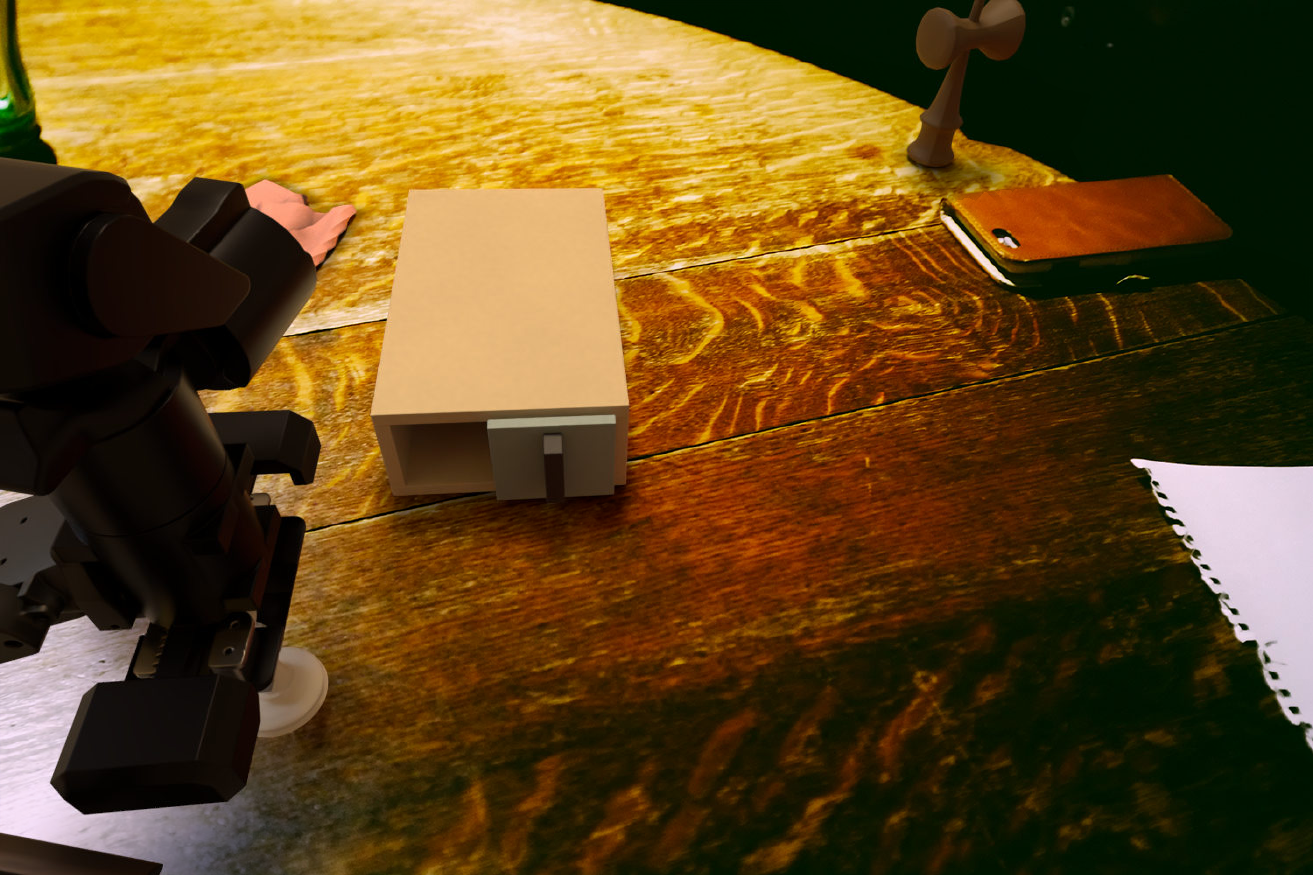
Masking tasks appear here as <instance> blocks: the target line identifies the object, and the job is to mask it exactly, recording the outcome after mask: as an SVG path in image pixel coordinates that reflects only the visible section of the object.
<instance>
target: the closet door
mask: <svg viewBox="0 0 1313 875" xmlns="http://www.w3.org/2000/svg"><path fill="white" fill-rule="evenodd" d="M487 431H488V438H489V445H490V453H491V460H492V467H493V474H494V481H495V488H496V491H495V495H496V500H497V501H511V500H512V501H513V500H532V499H545V500H546V504H547V505H552V504H553V505H554V504H555V505H556V504H557V505H558V504H565V503H566V498H570V497H572V498H573V497H589V496H590V497H593V496H610V495H611V496H613V495H615V485H614V479H615V444H616V418H615V415H593V416H567V417H542V418H517V419H491V420H488V421H487Z"/></svg>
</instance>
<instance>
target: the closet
mask: <svg viewBox="0 0 1313 875" xmlns="http://www.w3.org/2000/svg"><path fill="white" fill-rule="evenodd" d="M406 201H407V202H406V207H405V211H404V212H405V213H404V218H403V224H402V230H401V236H400V242H399V247H398V253H397V257H396V258H397V259H396V265H395V270H394V276H393V281H392V288H391V294H390V299H389V305H388V310H387V317H386V322H385V329H384V332H383V333H384V334H383V340H382V346H381V352H380V355H379V356H380V357H379V362H378V368H377V375H376V380H375V386H374V391H373V398H372V403H371V409H370V418H371V423H372V426H373V430H374V433H375V436H376V440H377V443H378V447H379V451H380V454H381V457H382V461H383V464H384V468H385V471H386V475H387V478H388V483H389V485H390V486H389V487H390V489H391V493H392V495H393V497H401V496H402V497H403V496H422V495H423V496H425V495H443V494H445V495H446V494H461V493H462V494H464V493H466V494H467V493H481V492H482V493H483V492H486V493H487V492H496V488H495V481H494V474H493V467H492V460H491V453H490V445H489V438H488V431H487V421H488V420H491V419H517V418H542V417H567V416H593V415H615V418H616V444H615V479H614V486H625V485H627V468H628V467H627V466H628V445H629V444H628V443H629V424H630V423H629V422H630V420H629V419H630V400H629V391H628V383H627V376H626V367H625V365H626V364H625V359H624V349H623V341H622V333H621V324H620V317H619V309H618V300H617V294H616V284H615V276H614V268H613V261H612V252H611V251H612V250H611V244H610V236H609V235H610V234H609V227H608V219H607V218H608V217H607V209H606V203H605V202H606V201H605V193H604V188H603V187H598V188H597V187H586V188H585V187H581V188H580V187H575V188H574V187H573V188H571V187H570V188H561V187H560V188H559V187H558V188H557V187H555V188H451V189H450V188H448V189H447V188H443V189H442V188H441V189H439V188H438V189H437V188H436V189H435V188H434V189H433V188H431V189H430V188H429V189H409V190H408V196H407V200H406Z"/></svg>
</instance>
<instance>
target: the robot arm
mask: <svg viewBox="0 0 1313 875" xmlns="http://www.w3.org/2000/svg"><path fill="white" fill-rule="evenodd" d="M245 189H246V188H245V186H244V184H243V183H241V182H239V181H238V182H237V181H229V180H222V179H215V178H207V177H201V176H200V177H199V176H194V177H193V178H192V179H191V180H189V182H187V184H185V185H184V186H183V187H182V188H181V189H180V191H179V192H178V193H177V195H176V196H175V199H174V200H173V201H172V203H171V205H170V206H169V207H168V208H167V209H166V210H165V211H164V212H163V213H162V214H161V215H160V216H159V217H157V219H156V220H154V221H152V219H151V218H150V215H149V214H148V212H147V211H146V209H145V207H144V205H143V203H142V202H141V200H140V198H139V197H138V196H137V195H136V194H134V192H132V188H131V185H130V184H129V182H128V181H127V179H125V178H124V177H122V176H120V175H117V174H115V173H112V172H110V171H106V170H105V171H104V170H98V169H91V168H83V167H76V166H69V165H68V166H67V165H60V164H55V163H53V164H52V163H46V162H39V161H31V160H23V159H16V158H10V157H2V156H0V491H4V492H11V493H16V494H22V495H29V496H27V497H24V498H21V499H18V500H13V501H11V502H8V503H6V504H4V505H2V506H0V665H2V664H6V663H9V662H13V661H17V660H20V659H24V658H27V657H31V656H34V655H37V654H39V653H40V652H41V649H42V648H43V645H44V643H45V640H46V638H47V635H48V633H49V631H50V629H51V627H54V626H57V625H60V624H64V623H67V622H70V621H74V620H79V619H81V618H84V617H86V618H88V619H89V620H90V621H91V623H92V624H93V625H94V626H95V627H96V629H97V630H98V631H99V632H109V631H125V630H131V629H133V628H134V625H135V623H136V620H137V619H147V620H148V621H149V622H148V625H147V628H146V632H145V634H140V635H139V636H138V639H137V642H136V646H135V648H134V650H133V651H134V652H133V654H132V658H131V660H130V663H129V665H128V668H127V671H126V673H125V676H124V680H111V681H100V682H99V681H97V682H96V683H95V684H94V685H92V687H90V688H89V689H88V690H87V691H86V692H85V693H83V694H82V696H81V699H80V702H79V704H78V707H77V710H76V712H75V715H74V717H73V720H72V723H71V725H70V728H69V731H68V734H67V736H66V739H65V742H64V744H63V747H62V749H61V752H60V754H59V757H58V760H57V763H56V765H55V768H54V770H53V774H52V775H51V779H50V780H49V784H50V785H51V786H52V787H53V789H54V790H55V791H56V792H57V794H58V795H59V796H60V797H61V799H62V800H63V801H65V802H66V803H67V804H69V805H70V807H71V806H72V807H73V808H74V809H75V810H77V811H78V812H79V813H81V814H82V815H83V816H88V815H98V814H99V815H100V814H109V813H110V814H111V813H120V812H122V813H123V812H133V811H144V810H145V811H146V810H156V809H165V808H177V807H178V808H179V807H189V806H199V805H210V804H222V803H223V804H224V803H229V802H230V801H231V800H232V799H233V798H234V797H235V796H236V795H238V794H239V793H240V792H242V790H243V789H245V788H246V787H247V785H248V780H249V776H250V772H251V767H252V762H253V758H254V755H255V754H254V753H255V748H256V744H257V740H258V737H257V736H258V731H259V727H260V722H261V718H260V702H259V694H258V693H267V692H271V691H272V689H273V685H274V680H275V674H276V669H277V664H278V658H279V653H280V652H281V648H282V647H283V644H284V643H283V642H284V638H285V632H286V627H287V623H288V618H289V614H290V609H291V608H290V607H291V604H292V599H293V594H294V589H295V584H296V579H297V576H298V575H297V574H298V569H299V564H300V559H301V555H302V550H303V546H304V540H305V536H306V531H307V523H306V520H305V519H304V518H302V517H301V516H298V515H287V516H285V515H284V516H282V515H281V513H280V511H279V509H278V507H277V505H276V504H271V503H272V497H271V495H270V494H269V493H268V492H254V489H255V484H256V482H257V478H258V476H266V475H285V474H286V475H289V476H290V479H291V481H292V484H293V486H294V487H295V486H297V487H298V486H309V485H311V484H312V485H313V484H314V481H315V477H316V473H317V468H318V463H319V460H320V454H321V449H322V443H321V440H320V438H319V434H318V431H317V429H316V426H315V424H314V421H313V420H311V419H309V418H307V417H305V416H303V415H302V414H300V413H297V412H295V411H293V410H291V409H273V410H271V409H270V410H247V411H245V410H244V411H243V410H242V411H219V412H216V411H215V412H208V410H207V408H206V407H205V404H204V403H203V400H202V398H201V397H200V395H199V393H198V392H200V391H201V392H202V391H207V390H208V391H213V392H214V391H215V392H219V391H221V392H225V391H233V390H236V389H240V388H241V389H244V388H245V389H246V388H247V387H248V385H249V384H250V383H251V382H252V380H253V379H254V377H255V376H256V374H257V373H258V372H259V371H260V369H261V368H262V366H263V365H264V363H265V362H266V360H267V359H268V358H269V356H270V355H271V353H272V352H273V350H274V349H275V348H276V346H277V345H278V344H279V342H280V341H281V339H282V338H283V337H284V335H285V334H286V332H287V331H288V330H289V328H290V327H291V325H292V324H293V323H294V321H295V320H296V319H297V317H298V316H299V315H300V313H301V311H302V310H303V309H304V308H305V306H306V305H307V303H308V301H309V300H310V299H311V297H312V296H313V294H314V293H315V291H316V287H317V283H318V275H317V268H316V267H317V266H316V267H315V264H314V261H313V258H312V256H311V255H310V253H308V252H307V251H305V250H304V249H303V247H302V246H301V244H300V243H299V242H298V241H297V240H296V238H295V237H294V236H293V235H292V234H291V233H290V232H289V231H288V230H287V229H286V228H285V227H283V226H282V225H281V224H279V223H278V222H277V221H276V220H274V219H273V218H272V217H270V216H268V215H266V214H265V213H263V212H261V211H259V210H257V209H256V208H253V207H251V206H250V203H249V200H248V197H247V194H246V191H245ZM153 222H154V223H153ZM253 492H254V493H253ZM248 611H256V612H257V619H256V622H259V623H262V624H264V625H266V626H267V627H255V622H254V619H253V618H252V616H251V615H250V614H249V613H248ZM163 869H164V863H162V862H157V861H153V860H147V859H143V858H137V857H131V856H126V855H120V854H115V853H112V852H111V853H110V852H105V851H100V850H94V849H90V848H84V847H80V846H79V847H78V846H73V845H68V844H63V843H57V842H51V841H46V840H42V839H37V838H31V837H26V836H21V835H16V834H11V833H5V832H0V875H161V873H162V871H163Z"/></svg>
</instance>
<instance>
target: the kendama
mask: <svg viewBox="0 0 1313 875" xmlns="http://www.w3.org/2000/svg"><path fill="white" fill-rule="evenodd" d="M985 2H986V0H974V2H973V3H972V6H971V10H970V13H969V16H968V17H967V18H960V17H959V16H957V15H956V14H954V13H953V12H952V11H950V9H947V8H942V7H934V8H932V9H928V10H927V12H926V13H925V14H924V15H923V17H922V18H921V20H920V23H919V24H918V28H917V32H916V37H915V46H916V53H917V55H918V58H919V60H920V62H922V64H923V65H924V66H925V67H926V68H929V69H932V70H936V71H937V70H943V69H945V68H947V67H948V66H949V68H948V70H947V73H946V75H945V77H944V80H943V81H942V83H941V86H940V88H939V89H938V92H937V93H936V95H935V98H934V99H933V101H932V103H931V104H930V106H929V107H928V108H927V109H925V110H923V112H921V113H920V114H919V120H920V123H921V127H920V131H919V133H918V136H917V137H916V139H915V140H913V141H912V142H910V144H909V145H908V146H907V147H906V153H907V155H908V157H909V158H910V159H911V160H912V161H913V162H916V163H917V164H919V165H922V166H925V167H932V168H939V167H944V166H947V165H949V164H950V163H952V162H953V161H954V159H955V153H954V149H953V142H954V141H953V140H954V138H955V133H956V131H958V130H959V129H960V127H961V126H962V125H963V124H964V121H963V117H962V116H960V105H961V97H962V92H963V85H964V80H965V76H966V70H967V68H968V67H967V66H968V62H969V58H970V54H971V50H974V49H977V50H978V51H980V52H981V53H983V55H984V56H986V57H987V58H988V59H991V60H993V61H997V62H1000V61H1004V60H1008V59H1010V58H1011V57H1012V56H1013V55H1014V54H1015V53H1016V52H1017V51H1018V49H1019V47H1020V45H1021V43H1022V41H1023V39H1024V35H1025V31H1026V12H1025V11H1024V8H1023V6H1022V4H1021V3H1020V2H1019V1H1018V0H989V1H988V2H987V3H986V4H985Z"/></svg>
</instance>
